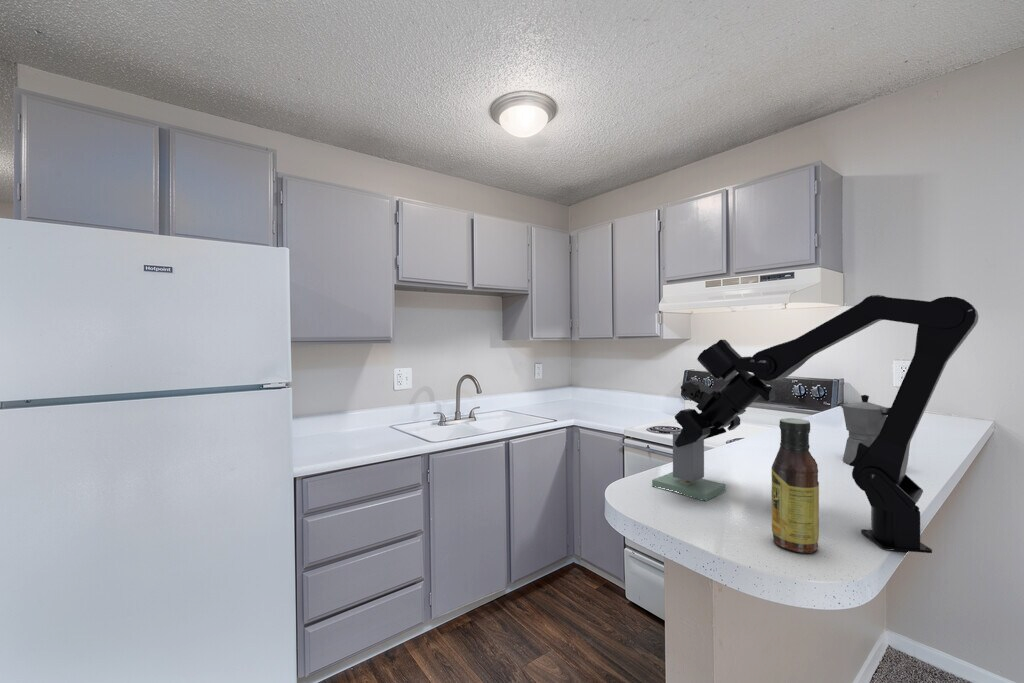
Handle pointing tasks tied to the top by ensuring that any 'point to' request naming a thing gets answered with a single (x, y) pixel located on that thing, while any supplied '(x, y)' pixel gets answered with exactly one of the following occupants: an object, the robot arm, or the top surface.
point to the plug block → (688, 460)
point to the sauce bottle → (795, 489)
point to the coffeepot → (862, 424)
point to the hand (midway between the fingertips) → (682, 443)
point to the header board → (690, 486)
